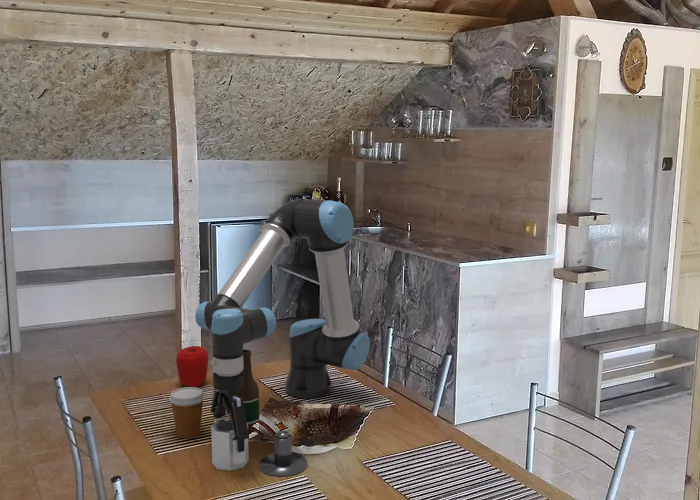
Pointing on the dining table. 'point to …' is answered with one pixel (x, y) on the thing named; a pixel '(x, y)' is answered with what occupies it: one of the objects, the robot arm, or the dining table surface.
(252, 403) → the beer bottle
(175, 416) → the disposable coffee cup
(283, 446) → the duct stub
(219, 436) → the sleeve
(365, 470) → the dining table surface
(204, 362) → the apple
